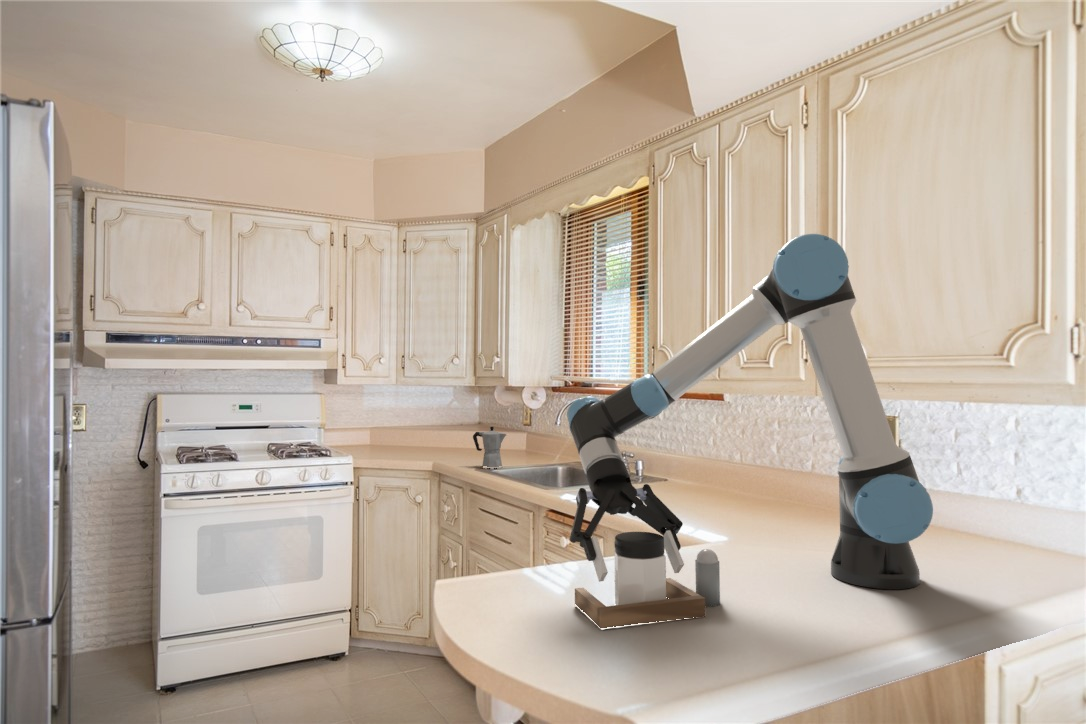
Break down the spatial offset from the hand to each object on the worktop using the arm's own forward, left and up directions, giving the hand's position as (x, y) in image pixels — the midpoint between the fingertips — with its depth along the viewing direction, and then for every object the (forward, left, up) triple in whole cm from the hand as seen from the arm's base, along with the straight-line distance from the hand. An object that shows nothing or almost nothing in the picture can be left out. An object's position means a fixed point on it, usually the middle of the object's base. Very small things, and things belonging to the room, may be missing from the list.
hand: (642, 573), depth 109 cm
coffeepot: (+161, -95, -7) cm, 187 cm away
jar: (+2, -2, -7) cm, 7 cm away
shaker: (-4, -13, -7) cm, 15 cm away
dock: (+2, -1, -7) cm, 7 cm away
